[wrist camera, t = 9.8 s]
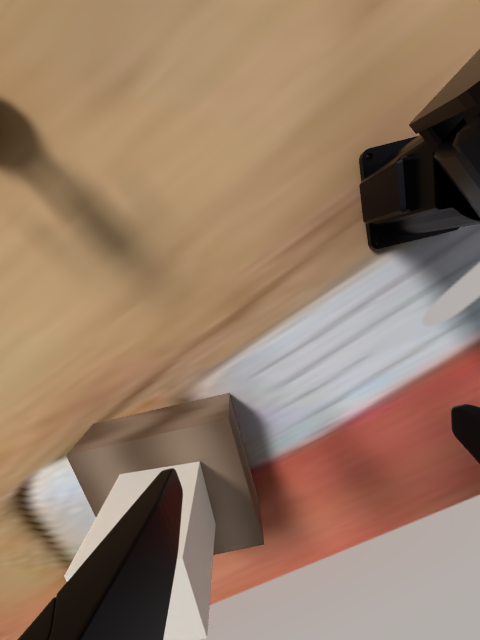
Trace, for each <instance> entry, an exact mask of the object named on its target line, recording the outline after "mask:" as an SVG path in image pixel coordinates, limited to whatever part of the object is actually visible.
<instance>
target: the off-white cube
mask: <svg viewBox="0 0 480 640" xmlns="http://www.w3.org/2000/svg"><path fill="white" fill-rule="evenodd" d="M171 468H174V469H175V470H176V472H177V475H178V477H179V480H180V483H181V486H182V490H183V501H182V513H181V525H180V537H179V548H178V556H177V563H176V569H175V575H174V580H173V586H172V592H171V598H170V604H169V609H168V615H167V621H166V627H165V633H164V638H163V640H199V639H206V638H207V631H208V618H209V605H210V591H211V578H212V565H213V551H214V538H215V525H216V524H215V520H214V516H213V512H212V508H211V504H210V500H209V496H208V492H207V488H206V484H205V480H204V476H203V472H202V469H201V465H200V461H199V462H193V463H186V464H180V465H174V466H168V467H162V468H155V469H149V470H143V471H137V472H131V473H124V474H120V475H119V477H118V478H117V480H116V482H115V484H114V486H113V488H112V489H111V491H110V493H109V495H108V497H107V499H106V500H105V502H104V504H103V506H102V508H101V510H100V511H99V513H98V515H97V517H96V519H95V521H94V522H93V524H92V526H91V528H90V530H89V532H88V533H87V535H86V537H85V539H84V541H83V543H82V544H81V546H80V548H79V550H78V552H77V554H76V555H75V557H74V559H73V561H72V563H71V565H70V566H69V568H68V570H67V572H66V574H65V576H64V577H65V579H66V581H67V582H68V580H69V579H70V578H71V577H72V576H73V574H74V573H75V572H76V571H77V570H78V569H79V567H80V566H81V565H82V564H83V563H84V561H85V560H86V559H87V558H88V557H89V556H90V554H91V553H92V552H93V551H94V550H95V549H96V547H97V546H98V545H99V544H100V543H101V541H102V540H103V539H104V538H105V537H106V536H107V534H108V533H109V532H110V531H111V530H112V528H113V527H114V526H115V525H116V524H117V523H118V521H119V520H120V519H121V518H122V517H123V516H124V514H125V513H126V512H127V511H128V510H129V508H130V507H131V506H132V505H133V504H134V503H135V501H136V500H137V499H138V498H139V497H140V495H141V494H142V493H143V492H144V491H145V490H146V488H147V487H148V486H149V485H150V484H151V482H152V481H153V480H154V479H155V478H156V477H157V475H158V474H159V473H160V472H161V471H163V470H166V469H171Z"/></svg>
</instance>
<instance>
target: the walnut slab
mask: <svg viewBox="0 0 480 640" xmlns="http://www.w3.org/2000/svg"><path fill="white" fill-rule="evenodd" d="M66 456H67V458H68V460H69V462H70V464H71V467H72V469H73V471H74V473H75V475H76V477H77V479H78V481H79V483H80V485H81V487H82V489H83V491H84V494H85V496H86V498H87V500H88V502H89V504H90V506H91V508H92V510H93V512H94V514H95V516H96V517H97V515H98V513H99V511H100V510H101V508H102V506H103V504H104V502H105V500H106V499H107V497H108V495H109V493H110V491H111V489H112V488H113V486H114V484H115V482H116V480H117V478H118V477H119V475H120V474H124V473H131V472H137V471H143V470H149V469H155V468H162V467H168V466H174V465H180V464H186V463H193V462H199V461H200V465H201V469H202V472H203V476H204V480H205V484H206V488H207V492H208V496H209V500H210V504H211V508H212V512H213V516H214V520H215V524H216V525H215V538H214V551H213V555H215V554H220V553H225V552H230V551H234V550H239V549H244V548H249V547H253V546H258V545H263V544H264V539H263V530H262V521H261V511H260V503H259V499H258V495H257V492H256V488H255V485H254V481H253V477H252V474H251V470H250V466H249V463H248V459H247V455H246V452H245V448H244V445H243V441H242V437H241V434H240V430H239V426H238V423H237V419H236V415H235V412H234V408H233V405H232V401H231V397H230V394H229V393H227V394H223V395H218V396H214V397H210V398H205V399H201V400H197V401H192V402H188V403H183V404H179V405H175V406H170V407H166V408H161V409H157V410H153V411H148V412H144V413H140V414H135V415H131V416H126V417H122V418H118V419H113V420H109V421H105V422H100V423H96V424H93V425H92V426H91V427H90V429H89V430H88V431H87V432H86V433H85V434H84V436H83V437H82V438H81V439H80V440H79V441H78V442H77V444H76V445H75V446H74V447H73V448H72V449H71V451H70V452H69V453H68V454H67V455H66Z"/></svg>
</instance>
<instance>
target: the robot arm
mask: <svg viewBox="0 0 480 640" xmlns="http://www.w3.org/2000/svg"><path fill="white" fill-rule="evenodd" d="M409 125H410V127H411V128H412V129H413V131H414V132H415V133H416V134H417V133H419V134H420V136H417V137H413V138H409V139H405V140H401V141H397V142H393V143H389V144H385V145H381V146H377V147H373V148H369V149H367V150H365V151H364V152H363V153H362V154H361V155H360V158H359V164H360V174H361V184H360V194H361V203H362V213H363V221H364V222H365V223H366V229H367V238H368V245H369V247H370V248H372V249H379V248H384V247H388V246H392V245H396V244H400V243H404V242H409V241H413V240H417V239H421V238H425V237H429V236H434V235H438V234H442V233H446V232H450V231H454V230H457V229H458V228H460V227H462V226H469V225H475V224H480V49H479V50H478V51H477V52H476V54H475V55H474V56H473V57H472V58H471V59H470V60H469V61H468V62H467V63H466V64H465V65H464V66H463V67H462V68H461V70H460V71H459V72H458V73H457V74H456V75H455V76H454V77H453V78H452V79H451V80H450V81H449V82H448V83H447V84H446V85H445V87H444V88H443V89H442V90H441V91H440V92H439V93H438V94H437V95H436V96H435V97H434V98H433V99H432V100H431V101H430V103H429V104H428V105H427V106H426V107H425V108H424V109H423V110H422V111H421V112H420V113H419V114H418V115H417V116H416V117H415V118H414V120H413V121H412V122H411V123H410V124H409ZM366 155H368V156H369V157H370V161H367V160H366ZM375 239H378V244H377V245H376V244H375V243H374V242H375ZM451 422H452V431H453V433H454V435H455V437H456V438H457V439H458V440H459V441H460V442H461V443H462V445H463V446H464V447H465V448H466V449H467V450H468V451H469V452H470V454H471V455H472V456H473V457H474V458H475V459H476V460H477V461H478V462H479V464H480V407H476V406H473V405H469V404H463V405H459V406H454V407H453V408H452V409H451ZM182 501H183V490H182V486H181V483H180V480H179V477H178V475H177V472H176V470H175V469H174V468H171V469H166V470H163V471H161V472H160V473H159V474H158V475H157V477H156V478H155V479H154V480H153V481H152V482H151V484H150V485H149V486H148V487H147V488H146V490H145V491H144V492H143V493H142V494H141V495H140V497H139V498H138V499H137V500H136V501H135V503H134V504H133V505H132V506H131V507H130V508H129V510H128V511H127V512H126V513H125V514H124V516H123V517H122V518H121V519H120V520H119V521H118V523H117V524H116V525H115V526H114V527H113V528H112V530H111V531H110V532H109V533H108V534H107V536H106V537H105V538H104V539H103V540H102V541H101V543H100V544H99V545H98V546H97V547H96V549H95V550H94V551H93V552H92V553H91V554H90V556H89V557H88V558H87V559H86V560H85V561H84V563H83V564H82V565H81V566H80V567H79V569H78V570H77V571H76V572H75V573H74V574H73V576H72V577H71V578H70V579H69V580H68V582H67V583H66V584H65V585H64V586H63V587H62V589H61V590H60V591H59V592H58V593H57V596H56V597H54V598H53V599H52V600H51V601H50V603H49V604H48V605H47V606H46V607H45V608H44V610H43V611H42V612H41V613H40V614H39V616H38V617H37V618H36V619H35V620H34V621H33V623H32V624H31V625H30V626H29V627H28V628H27V629H26V631H25V632H24V633H23V634H22V635H21V636H20V637H19V639H18V640H163V638H164V633H165V627H166V621H167V615H168V609H169V604H170V598H171V592H172V586H173V580H174V575H175V569H176V563H177V556H178V548H179V537H180V525H181V513H182Z"/></svg>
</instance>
